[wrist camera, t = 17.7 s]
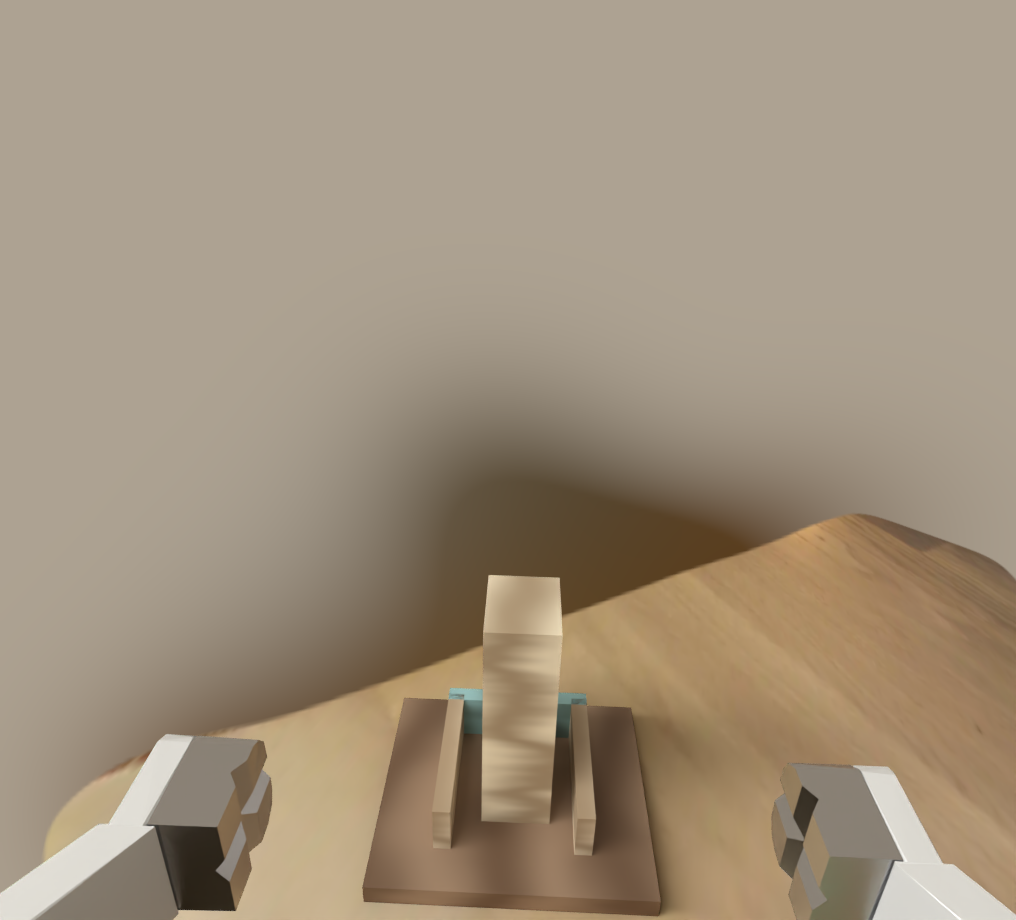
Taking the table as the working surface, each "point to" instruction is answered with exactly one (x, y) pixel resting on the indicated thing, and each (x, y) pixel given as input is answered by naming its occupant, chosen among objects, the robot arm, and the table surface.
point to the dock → (513, 846)
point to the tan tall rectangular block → (520, 697)
